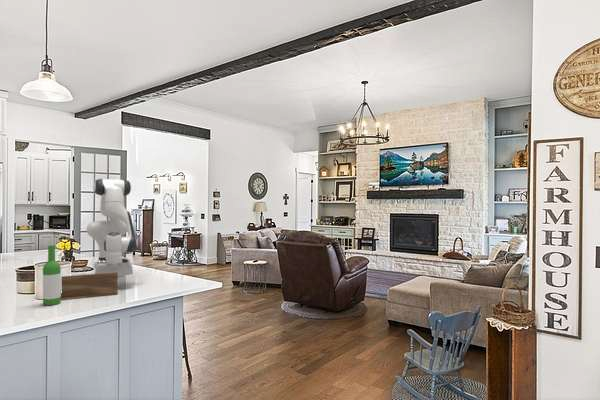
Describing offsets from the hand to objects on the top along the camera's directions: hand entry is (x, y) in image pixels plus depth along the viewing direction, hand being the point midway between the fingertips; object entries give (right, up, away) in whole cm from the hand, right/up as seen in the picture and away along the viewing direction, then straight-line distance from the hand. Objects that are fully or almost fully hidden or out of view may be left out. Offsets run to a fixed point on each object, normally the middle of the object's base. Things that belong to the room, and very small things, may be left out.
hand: (114, 283), depth 225 cm
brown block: (-8, -4, -12) cm, 15 cm away
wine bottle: (-17, -4, -31) cm, 35 cm away
